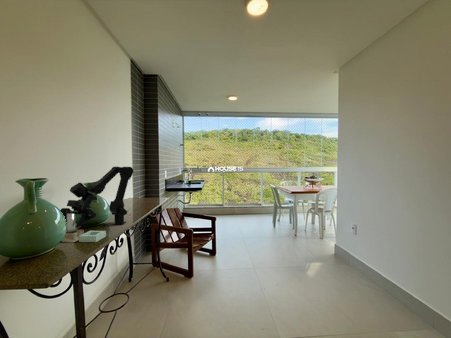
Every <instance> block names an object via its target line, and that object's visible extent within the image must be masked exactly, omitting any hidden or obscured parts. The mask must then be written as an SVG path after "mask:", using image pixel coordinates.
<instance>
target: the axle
mask: <svg viewBox="0 0 451 338" xmlns="http://www.w3.org/2000/svg"><path fill="white" fill-rule="evenodd" d="M66 229H67V230H66V231H67V233H75V230H76V215H75V213H67V223H66Z"/></svg>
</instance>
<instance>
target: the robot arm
mask: <svg viewBox="0 0 451 338" xmlns="http://www.w3.org/2000/svg"><path fill="white" fill-rule="evenodd" d="M118 174H119V177H120V180H119V184H118V187H117V191H116V194H115V198H114V200H113V201H112V200H111V201H110V204H109V207H108V208H109V212H111V215H113V216H114V222H113V223H112V224H111V225H112V226H116V225H117V226H122V225H124V224H126V223H127V221H125V216H126V215H127V214H128V210H126V209H125V203H124V198H125V194H126V190H127V187H128V184H129V181H130V179H131V178H132V176H133V174H134V169H133V167H132V166H121V167H120V166H113V167H111V169H109V170H108V171H107V172H106V174H105V175H103V176H102V177H101V178H100V179H99V180H97V181H94V182H92V183H91V184H89V185H88V186H85V185H84V184H83V183H82V182H78V183H76V184H75V185H73V186H71V187H70V189H69V192H70V193H71V194H73V195H74V196H75V197H76V198H78V200H76V199H75V200H74V199H68V200H67V204H66V207H62V208H60V210H59V212H60V211H61V212H62V213H63V215H64V216H65V219H66V222H67V213H75V216H77V215H78V216H79V215H80V219H79V220H78V221H77V222H76V223H77V224H75V228H76V229H77V228H79V227H81V226H82V225H84V224H86V223H88V221H90V220H93V219H95V218H96V216H97V213H96V212H95V211H94V210H93V209H92V208H91V205H92V203H93V201H98V197H97V195H99V194H102V192H104V191H105V189H106V186H107V185H108V183H109V182H111V181H112V180H113V179H114V177H116V176H117V175H118ZM79 198H80V199H79ZM69 207H71V209H70V208H69ZM63 215H62V216H63Z"/></svg>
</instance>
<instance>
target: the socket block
mask: <svg viewBox="0 0 451 338" xmlns="http://www.w3.org/2000/svg"><path fill="white" fill-rule="evenodd" d="M106 236H107V230H88V231H86V232H84V234H82V235H80V236H79V240H78V242H79V243H97V242H99V241H100V240H102V239H104V238H106Z"/></svg>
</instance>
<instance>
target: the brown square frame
mask: <svg viewBox="0 0 451 338" xmlns="http://www.w3.org/2000/svg"><path fill="white" fill-rule="evenodd" d="M84 233H85V230H84V229H75V233H67V232H66V235H65V238H64V240H63V241H62V242H61V243H75V242H77V241H79V236H80V235H82V234H84Z"/></svg>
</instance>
